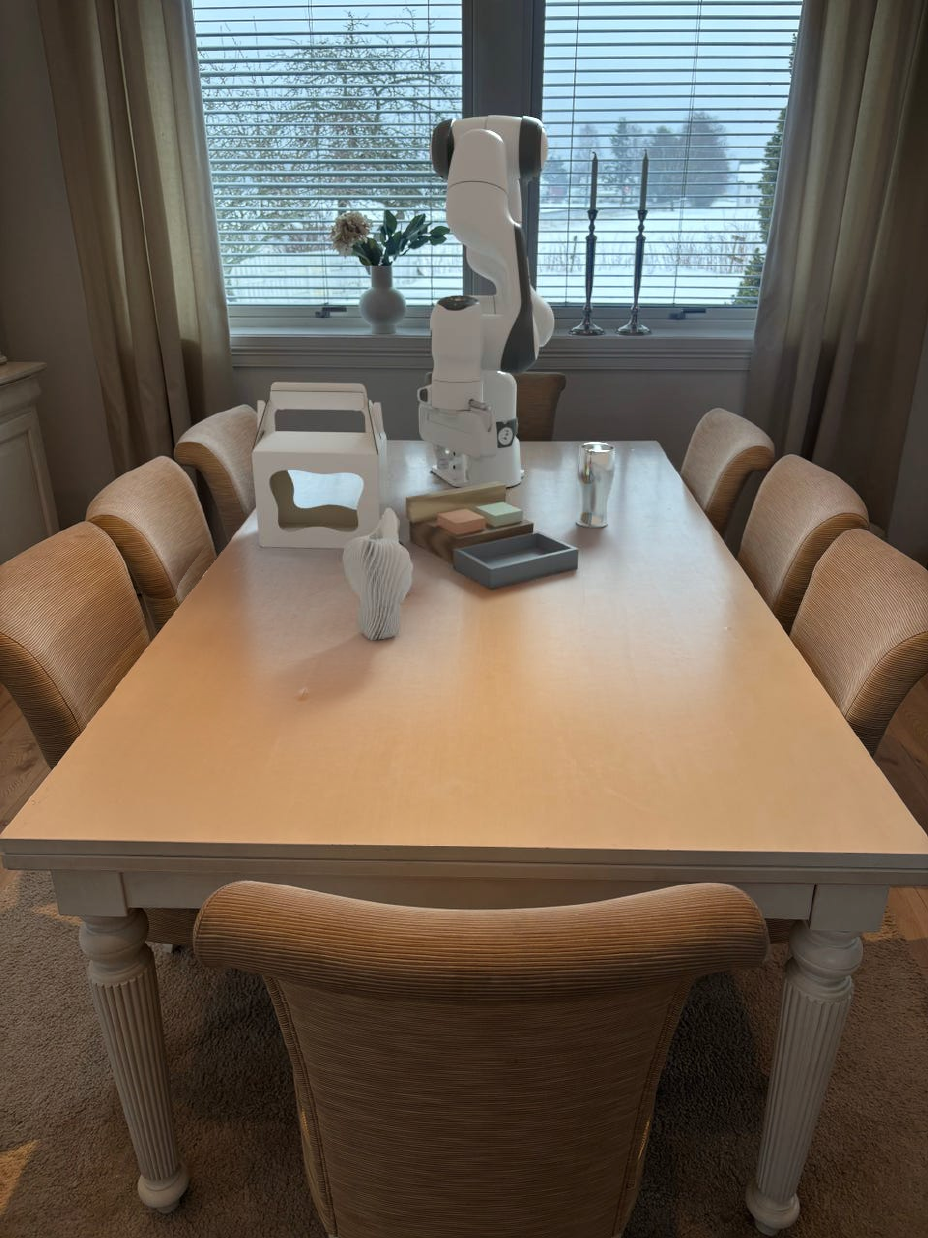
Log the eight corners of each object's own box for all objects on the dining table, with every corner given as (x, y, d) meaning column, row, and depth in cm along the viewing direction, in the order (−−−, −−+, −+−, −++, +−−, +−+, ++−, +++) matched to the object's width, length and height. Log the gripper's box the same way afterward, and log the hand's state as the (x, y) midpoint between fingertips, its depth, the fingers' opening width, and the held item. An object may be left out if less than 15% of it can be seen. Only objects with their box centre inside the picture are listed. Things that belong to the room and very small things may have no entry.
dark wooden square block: (409, 540, 170) (409, 513, 168) (481, 525, 178) (482, 500, 176) (457, 566, 158) (457, 539, 156) (532, 549, 166) (533, 523, 164)
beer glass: (609, 518, 183) (615, 442, 177) (610, 529, 177) (616, 451, 171) (573, 516, 184) (578, 441, 177) (574, 528, 177) (578, 450, 171)
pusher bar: (406, 519, 165) (405, 497, 164) (497, 501, 175) (498, 481, 174) (413, 522, 163) (412, 501, 162) (505, 505, 173) (506, 484, 172)
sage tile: (475, 517, 166) (475, 506, 166) (502, 512, 170) (502, 501, 169) (494, 526, 162) (494, 515, 161) (522, 521, 165) (522, 510, 164)
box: (453, 568, 157) (453, 549, 156) (538, 549, 166) (538, 530, 165) (490, 589, 149) (491, 569, 147) (577, 568, 158) (578, 548, 156)
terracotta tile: (437, 525, 162) (437, 514, 162) (466, 519, 165) (466, 508, 165) (456, 534, 158) (456, 523, 157) (485, 528, 161) (485, 517, 160)
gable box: (258, 547, 166) (244, 388, 154) (273, 524, 178) (262, 374, 166) (382, 550, 165) (377, 390, 154) (389, 526, 177) (386, 376, 166)
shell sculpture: (365, 652, 128) (360, 528, 120) (343, 629, 134) (338, 510, 127) (419, 641, 131) (418, 519, 124) (396, 619, 138) (393, 502, 131)
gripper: (507, 403, 154) (505, 484, 160) (441, 386, 170) (441, 461, 175) (476, 406, 151) (474, 489, 156) (412, 389, 167) (413, 465, 172)
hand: (457, 474), depth 166 cm, fingers open, 8 cm apart
